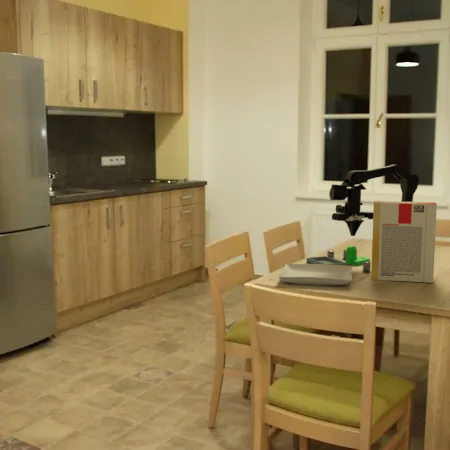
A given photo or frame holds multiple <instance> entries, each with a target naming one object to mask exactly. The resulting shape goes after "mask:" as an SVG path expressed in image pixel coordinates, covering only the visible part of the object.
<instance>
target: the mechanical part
mask: <svg viewBox="0 0 450 450" xmlns="http://www.w3.org/2000/svg"><path fill="white" fill-rule="evenodd" d="M345 250H346V259H345V262H346V265H349V266H357V267H358V266H361V265H362V266H363V262H365V261H367V262H371V258H369V257H366V256H358V251H357V250H358V249H357V247H356V246H354V245H348V246H347V248H346V249H345Z"/></svg>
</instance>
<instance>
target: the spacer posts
mask: <svg viewBox="0 0 450 450" xmlns="http://www.w3.org/2000/svg"><path fill="white" fill-rule="evenodd" d="M326 253H327V255H326V256H327V257H330V258H333V259H335V251H334V250H327V252H326ZM342 253H343V254H342V257H343V260H346V249H344V250H343V251H342ZM371 265H372V261H370V262H367V261H365V262H363V264H362V272H363V273H371Z"/></svg>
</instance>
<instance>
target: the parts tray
mask: <svg viewBox="0 0 450 450" xmlns="http://www.w3.org/2000/svg"><path fill="white" fill-rule="evenodd" d="M306 263H307V264H327V265H343V266H347V264H346V261H343V260H339V259H336V258H334V259H333V258H330V257H327V255H324V256H311V257H306Z"/></svg>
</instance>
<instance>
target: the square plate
mask: <svg viewBox="0 0 450 450" xmlns="http://www.w3.org/2000/svg"><path fill="white" fill-rule="evenodd" d="M352 270H353V265H346V266H343V265H327V264H311V263H285V265H284V267H283V269H282V271H281V272H280V273H279V275H278V278H279V279H280V280H281V281H282V282H284V283H291V284H294V285H306V284H311V285H313V286H314V285H315V286H341V285H347V284H349V283H350V282H351V281H352V280H353V275H352V273H353V272H352Z"/></svg>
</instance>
